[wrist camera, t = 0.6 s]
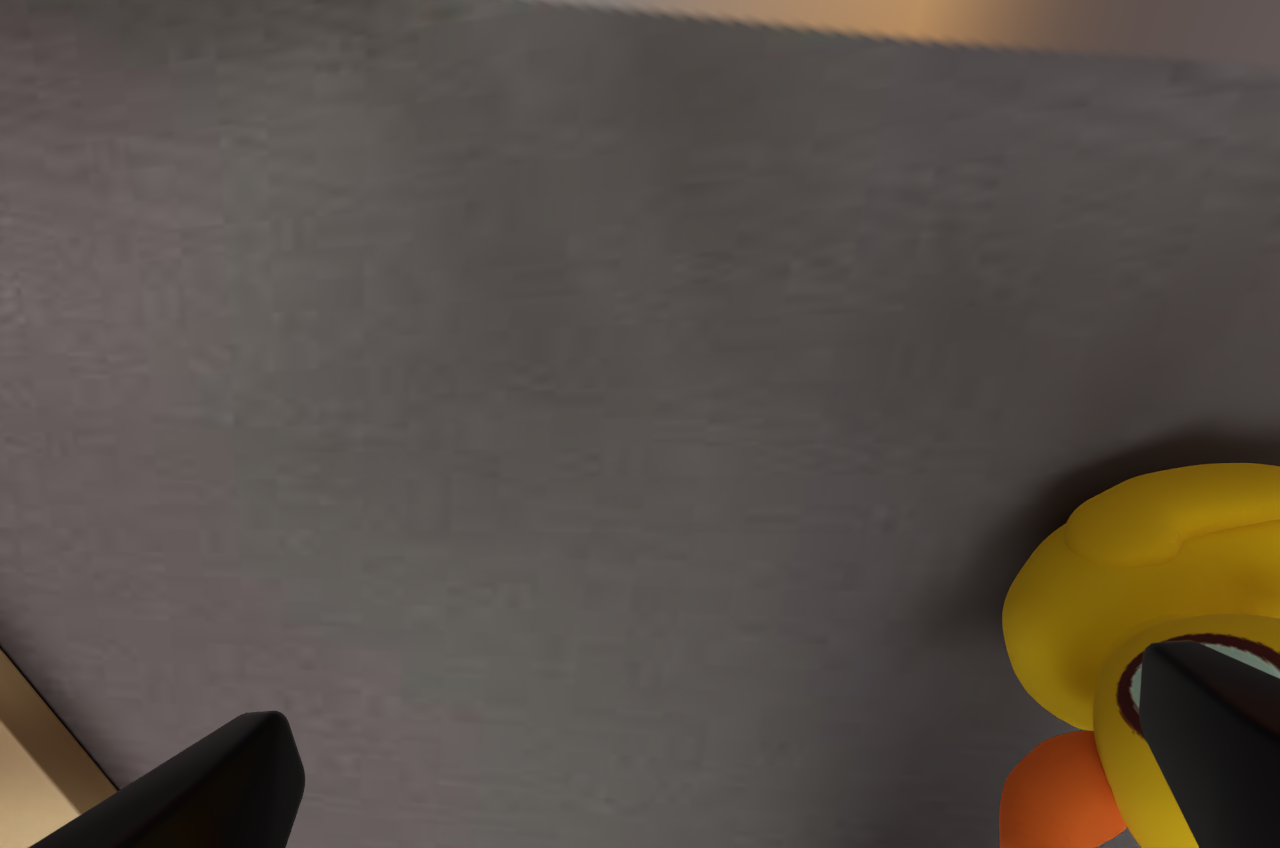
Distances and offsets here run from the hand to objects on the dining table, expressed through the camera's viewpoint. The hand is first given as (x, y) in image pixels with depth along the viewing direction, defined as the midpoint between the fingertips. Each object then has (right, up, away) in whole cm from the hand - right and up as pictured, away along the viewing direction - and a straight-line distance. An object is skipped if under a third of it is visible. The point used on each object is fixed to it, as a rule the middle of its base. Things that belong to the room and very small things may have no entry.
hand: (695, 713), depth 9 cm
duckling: (+12, 0, +14) cm, 19 cm away
